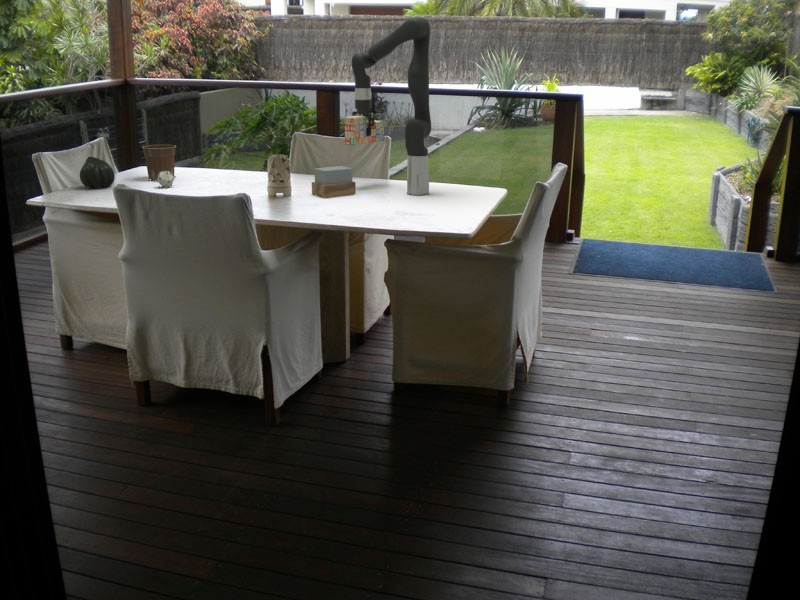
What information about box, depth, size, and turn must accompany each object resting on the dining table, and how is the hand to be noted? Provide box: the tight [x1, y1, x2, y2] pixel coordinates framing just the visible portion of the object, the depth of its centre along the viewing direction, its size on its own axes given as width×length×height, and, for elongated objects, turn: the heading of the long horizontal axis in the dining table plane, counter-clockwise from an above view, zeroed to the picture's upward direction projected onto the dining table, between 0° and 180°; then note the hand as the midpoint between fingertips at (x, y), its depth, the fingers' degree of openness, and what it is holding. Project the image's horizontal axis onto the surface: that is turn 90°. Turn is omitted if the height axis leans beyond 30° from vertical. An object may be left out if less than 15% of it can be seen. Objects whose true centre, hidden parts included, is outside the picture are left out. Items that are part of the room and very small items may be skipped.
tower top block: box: [314, 165, 353, 185], centre depth 377 cm, size 9×14×6 cm, turn 124°
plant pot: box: [141, 144, 177, 181], centre depth 415 cm, size 16×16×16 cm
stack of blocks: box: [344, 115, 385, 146], centre depth 390 cm, size 21×6×12 cm, turn 144°
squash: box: [79, 156, 116, 190], centre depth 393 cm, size 14×15×15 cm
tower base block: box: [311, 180, 357, 199], centre depth 378 cm, size 11×16×6 cm
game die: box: [155, 170, 177, 189], centre depth 394 cm, size 9×8×10 cm
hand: (363, 135), depth 390 cm, fingers closed on stack of blocks, 7 cm apart
